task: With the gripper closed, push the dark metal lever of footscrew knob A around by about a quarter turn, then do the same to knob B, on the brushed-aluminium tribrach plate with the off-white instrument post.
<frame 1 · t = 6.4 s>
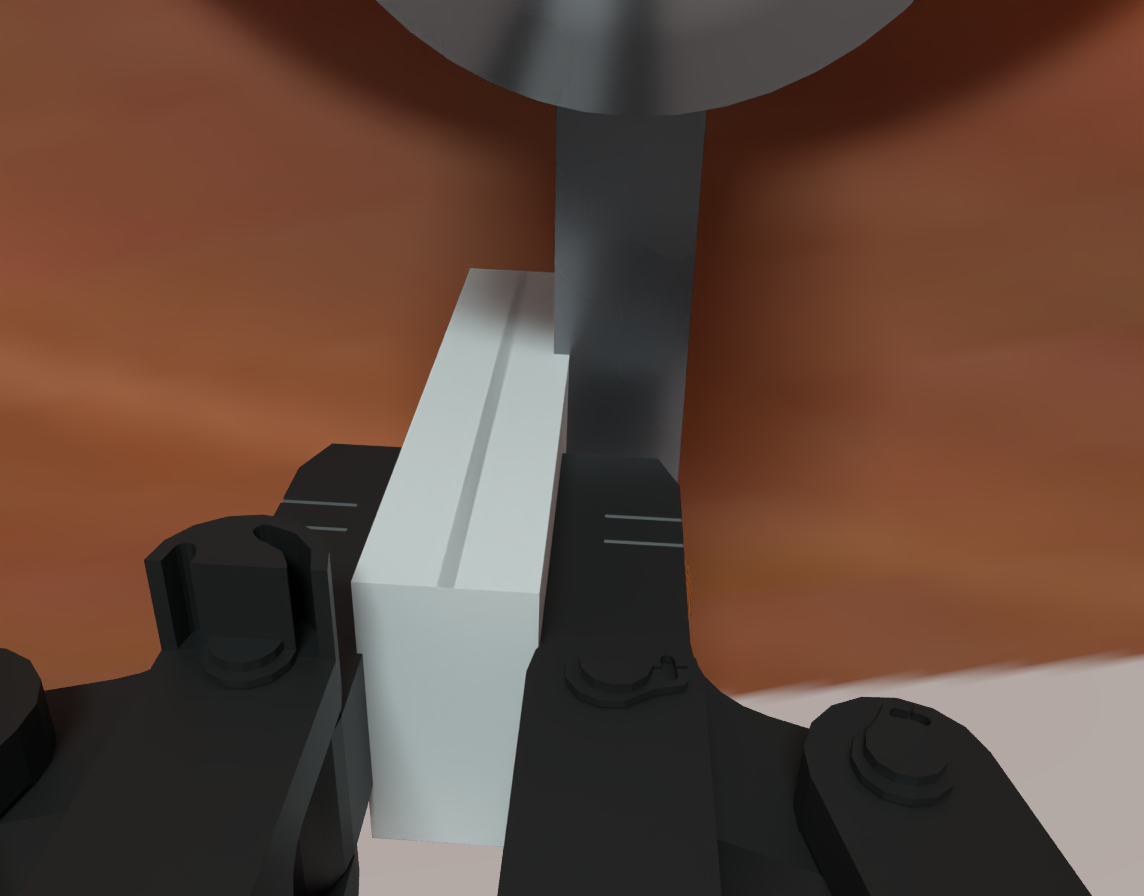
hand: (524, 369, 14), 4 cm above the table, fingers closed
knob A: (627, 194, 11), point 5 cm above the table, hinge at 0.8°, touching gripper
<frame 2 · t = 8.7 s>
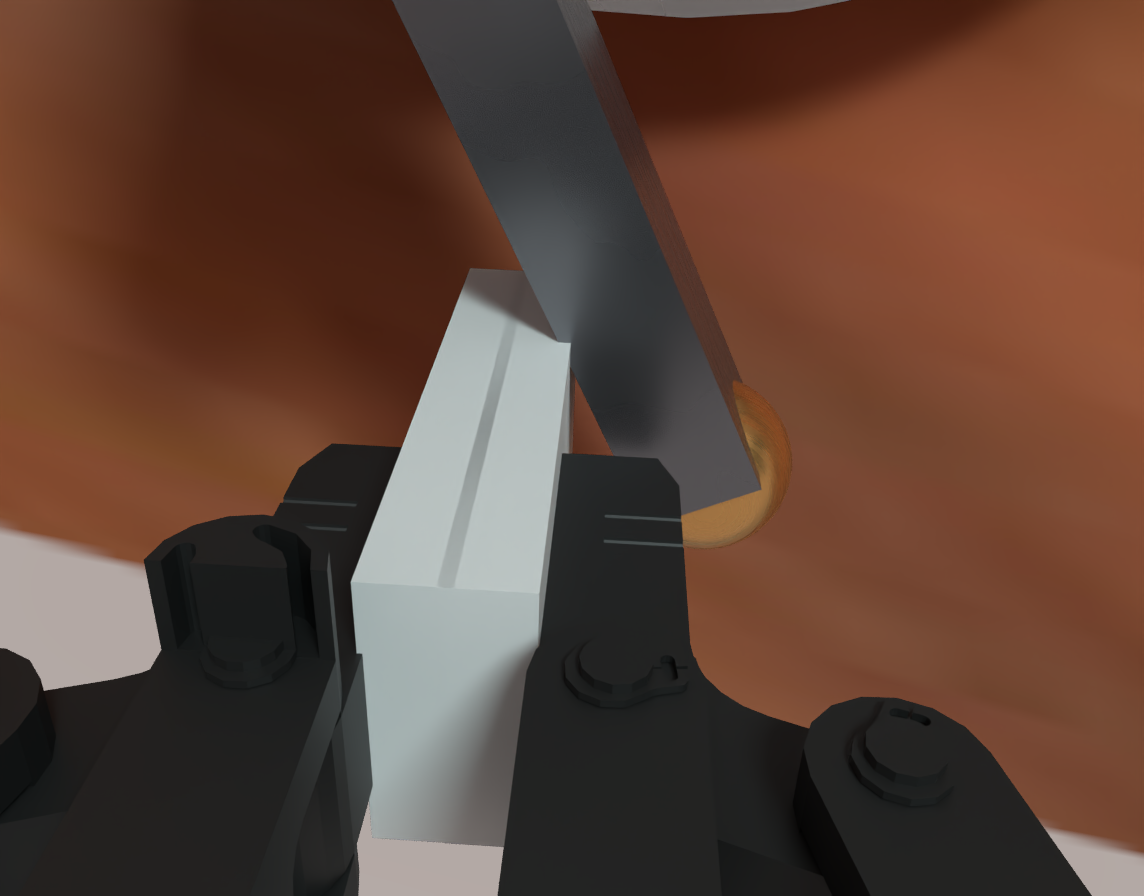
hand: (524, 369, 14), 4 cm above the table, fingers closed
knob A: (508, 45, 11), point 5 cm above the table, hinge at 54.0°, touching gripper
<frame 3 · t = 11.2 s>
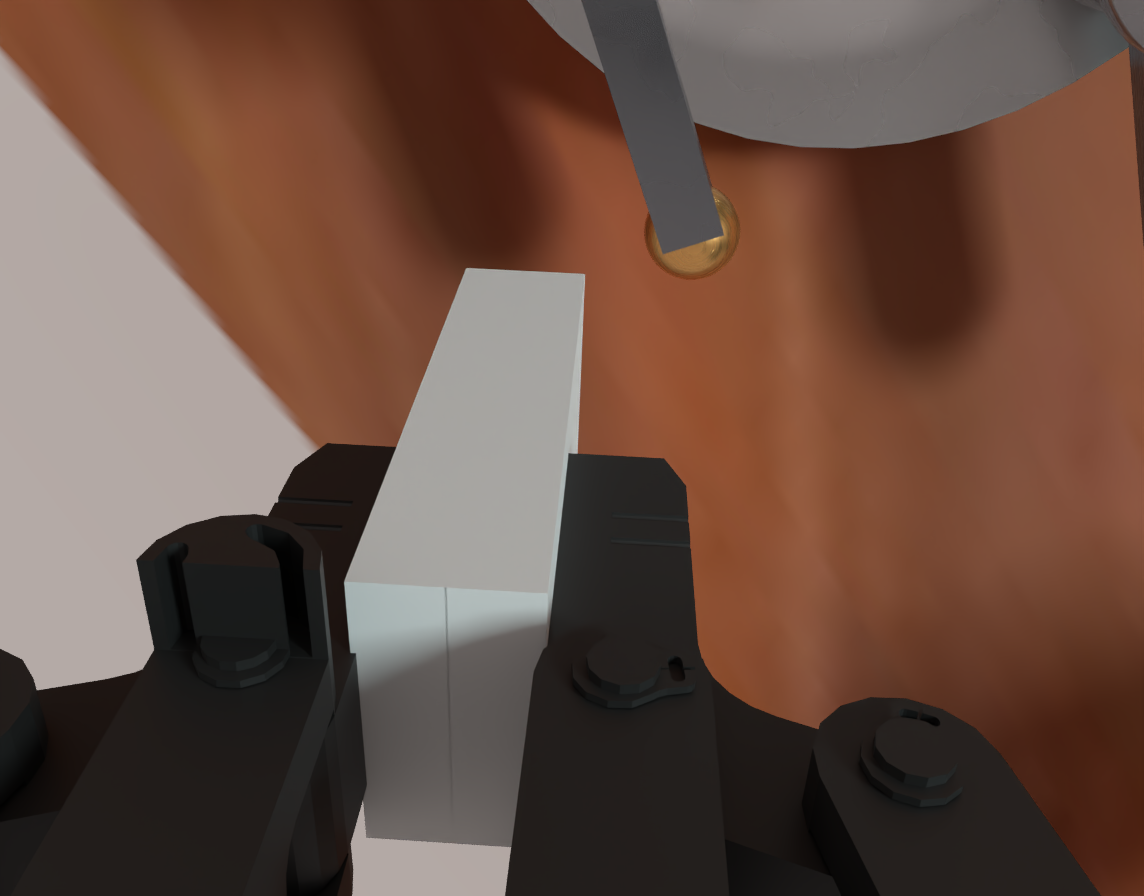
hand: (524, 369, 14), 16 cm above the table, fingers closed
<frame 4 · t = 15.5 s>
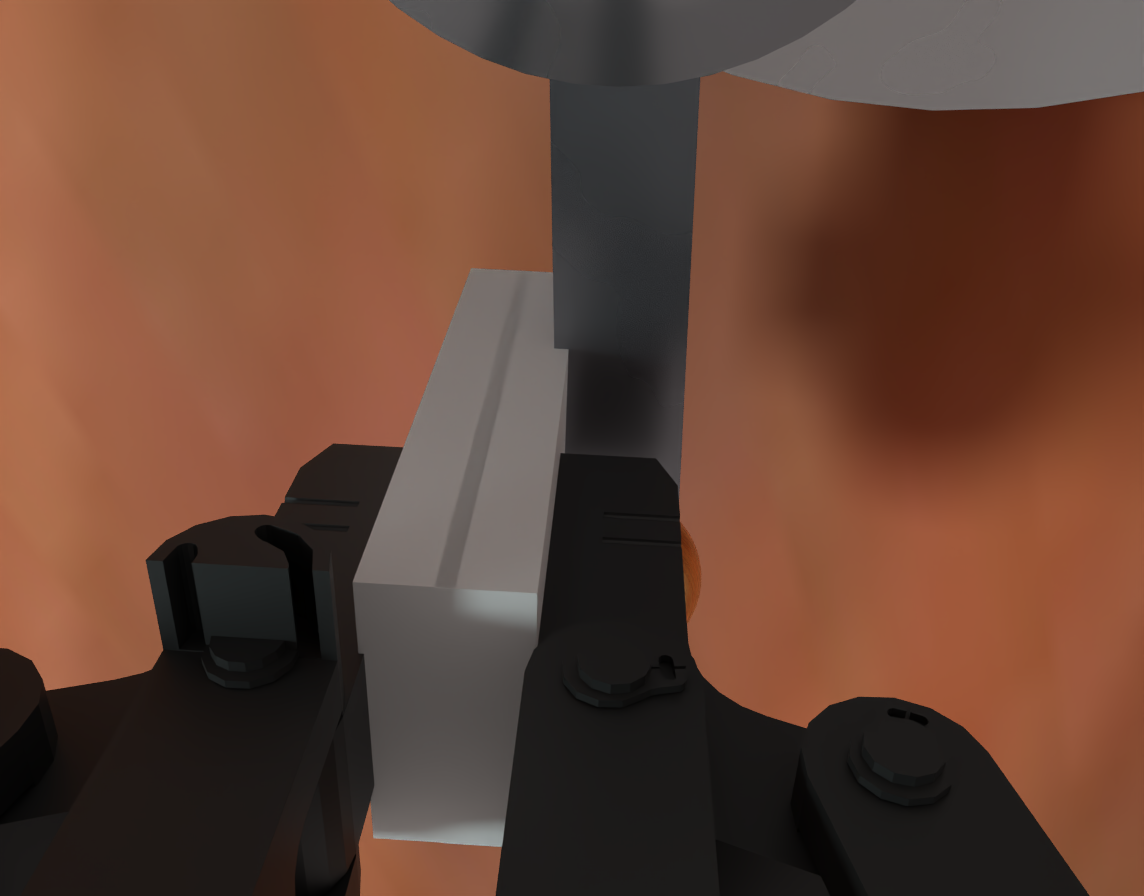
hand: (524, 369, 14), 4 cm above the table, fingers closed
knob B: (624, 172, 11), point 5 cm above the table, hinge at 1.9°, touching gripper
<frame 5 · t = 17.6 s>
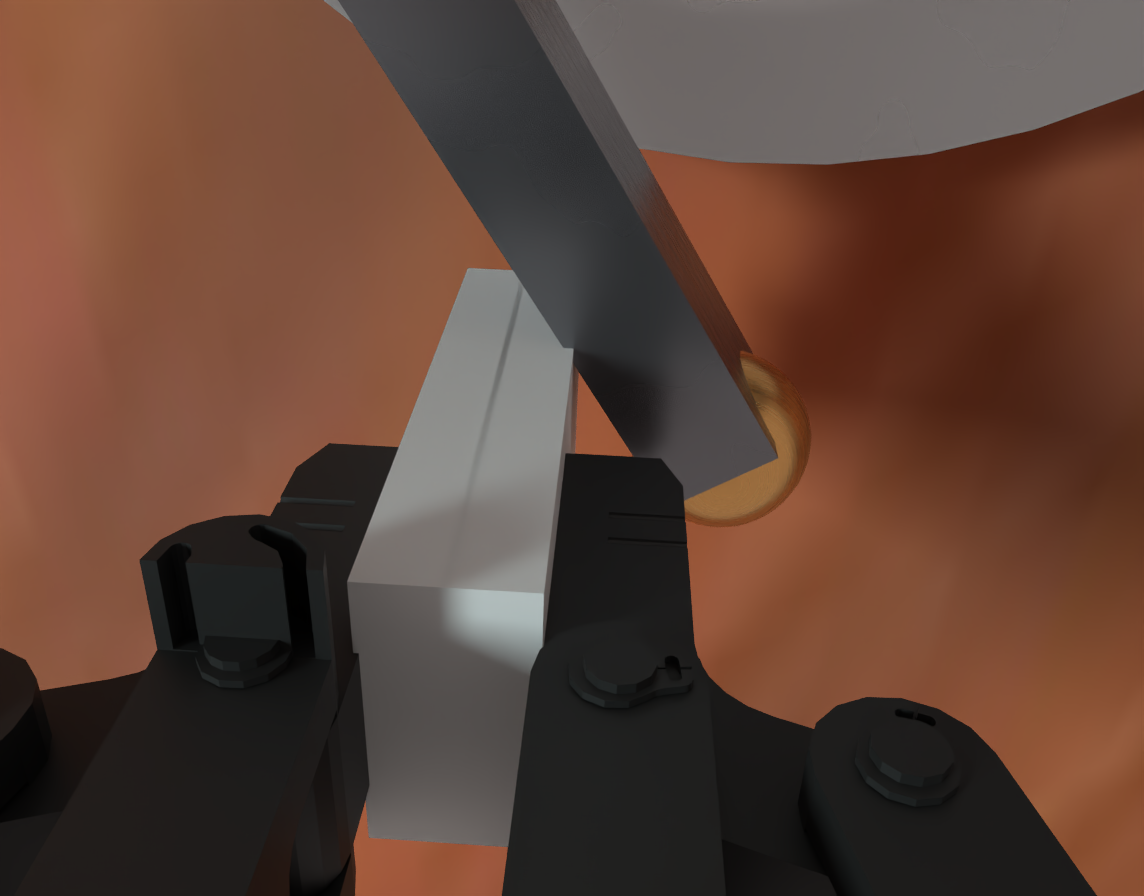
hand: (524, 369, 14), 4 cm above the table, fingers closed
knob B: (464, 34, 11), point 5 cm above the table, hinge at 50.0°, touching gripper
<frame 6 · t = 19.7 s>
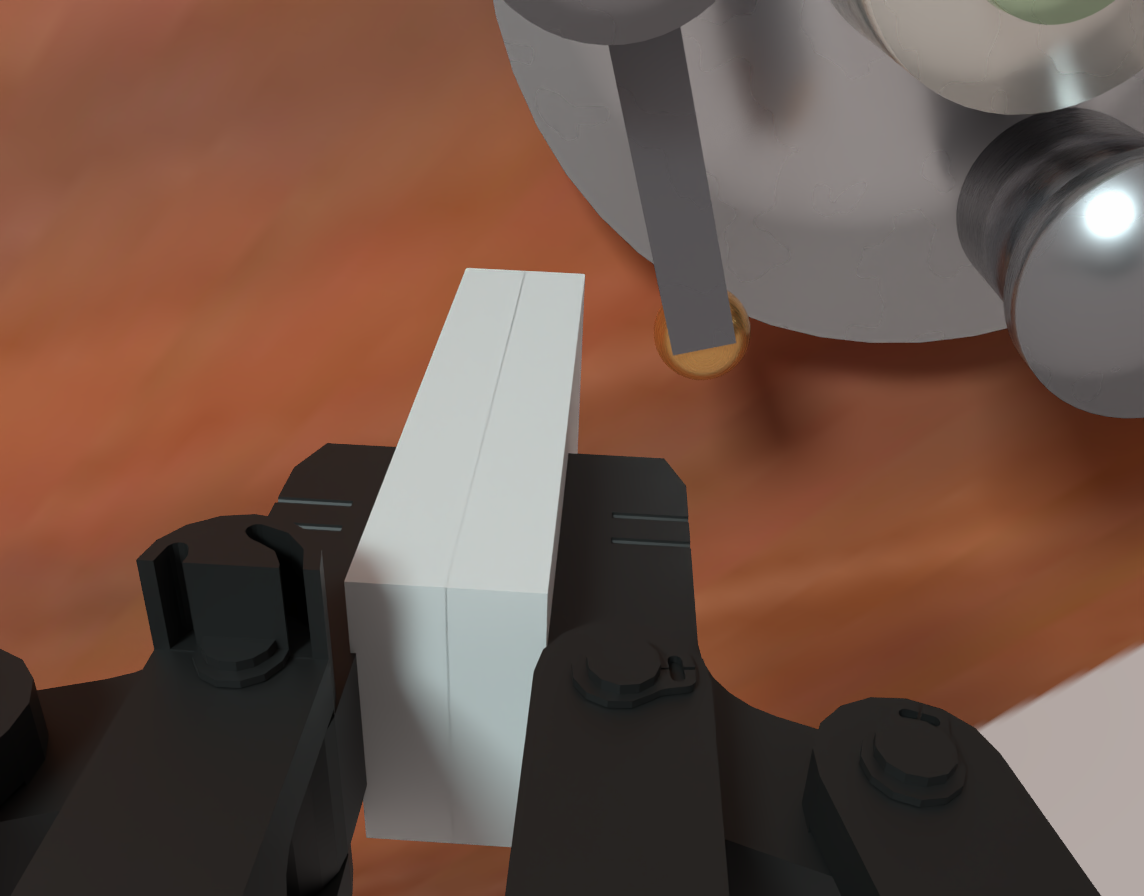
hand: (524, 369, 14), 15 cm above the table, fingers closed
knob B: (655, 92, 22), point 5 cm above the table, hinge at 75.7°
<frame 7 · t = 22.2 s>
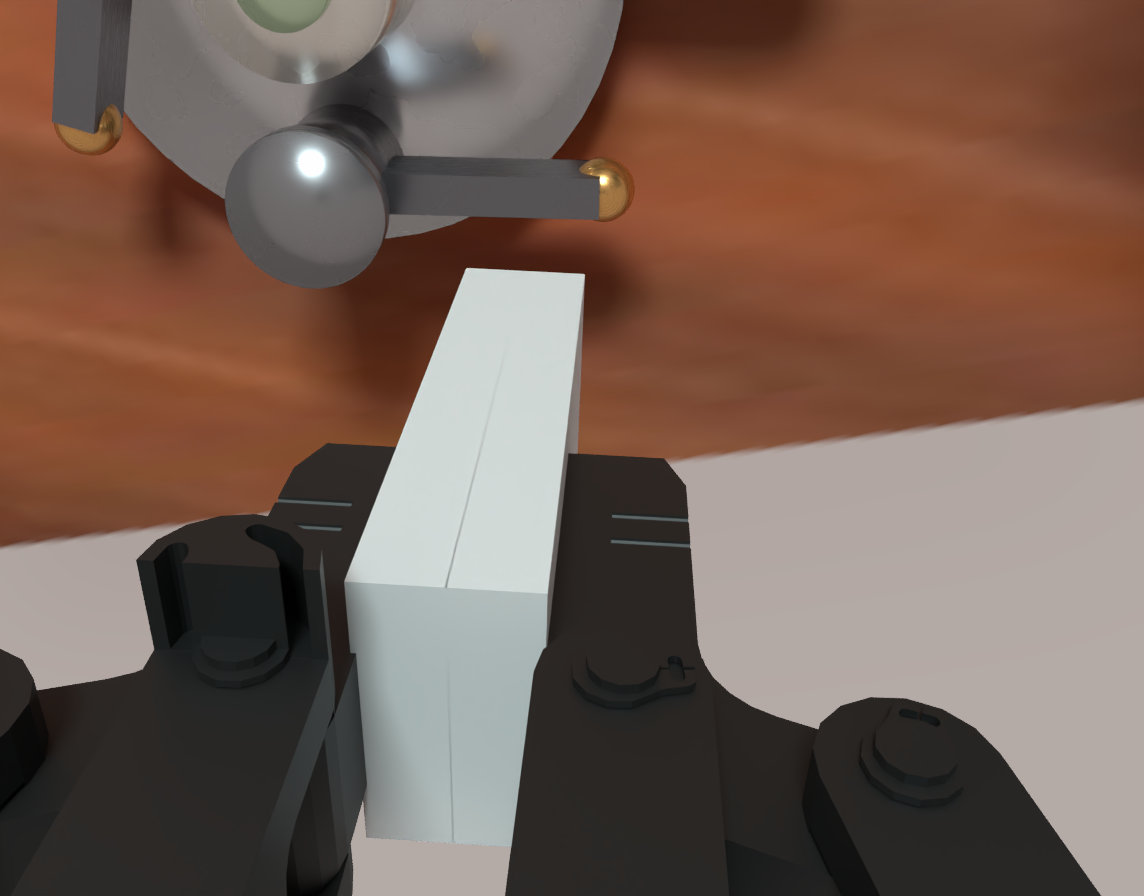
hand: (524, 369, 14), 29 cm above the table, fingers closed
knob A: (442, 190, 38), point 5 cm above the table, hinge at 91.3°
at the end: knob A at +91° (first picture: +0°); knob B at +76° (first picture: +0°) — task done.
